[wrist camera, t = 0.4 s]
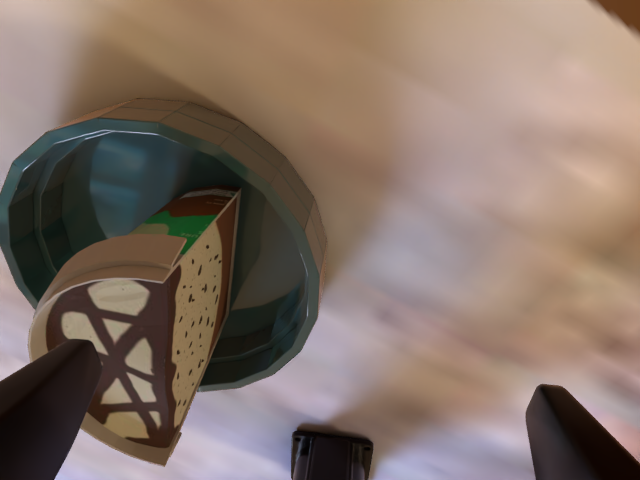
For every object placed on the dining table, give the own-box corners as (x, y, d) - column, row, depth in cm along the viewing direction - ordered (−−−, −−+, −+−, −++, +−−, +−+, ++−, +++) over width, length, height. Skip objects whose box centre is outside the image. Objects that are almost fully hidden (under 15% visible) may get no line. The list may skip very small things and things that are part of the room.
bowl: (320, 358, 30) (312, 407, 26) (87, 331, 31) (51, 373, 28) (335, 110, 21) (327, 135, 17) (8, 86, 22) (-59, 104, 19)
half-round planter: (130, 136, 22) (-20, 228, 14) (244, 162, 22) (162, 269, 14) (139, 310, 29) (40, 445, 20) (227, 329, 29) (164, 473, 20)
